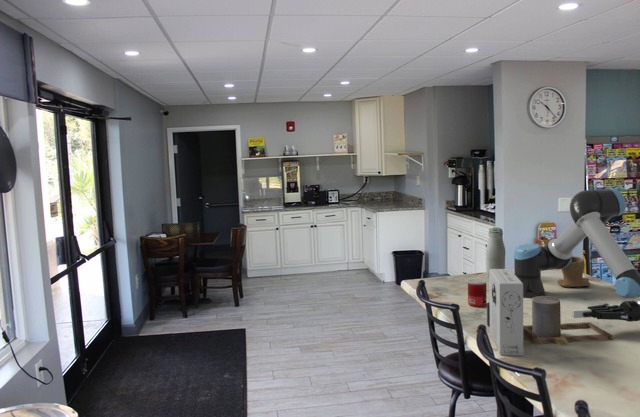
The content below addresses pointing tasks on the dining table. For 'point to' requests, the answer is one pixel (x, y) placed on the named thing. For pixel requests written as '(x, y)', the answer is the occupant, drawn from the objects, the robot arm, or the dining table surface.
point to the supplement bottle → (488, 313)
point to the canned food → (477, 293)
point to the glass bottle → (495, 250)
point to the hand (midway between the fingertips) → (573, 313)
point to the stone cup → (574, 274)
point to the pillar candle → (546, 316)
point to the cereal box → (506, 311)
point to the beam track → (563, 340)
